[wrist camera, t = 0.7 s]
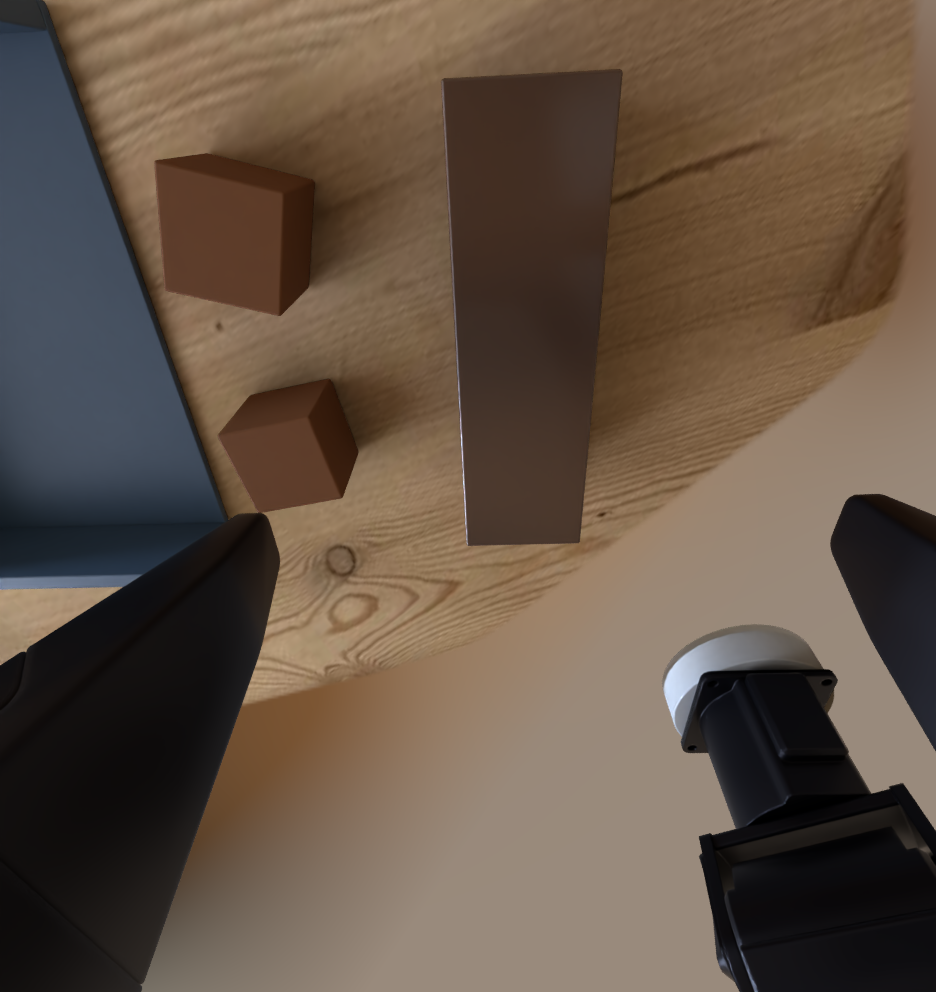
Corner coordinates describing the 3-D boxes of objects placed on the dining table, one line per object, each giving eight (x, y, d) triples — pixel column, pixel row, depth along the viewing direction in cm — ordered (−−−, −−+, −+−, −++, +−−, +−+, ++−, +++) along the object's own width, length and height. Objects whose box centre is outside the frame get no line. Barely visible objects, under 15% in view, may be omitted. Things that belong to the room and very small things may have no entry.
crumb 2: (359, 452, 21) (343, 499, 18) (283, 466, 21) (257, 514, 18) (331, 377, 19) (308, 416, 16) (249, 394, 19) (215, 436, 17)
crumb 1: (309, 288, 17) (280, 317, 15) (209, 265, 17) (163, 291, 14) (315, 180, 16) (284, 192, 13) (205, 152, 15) (152, 159, 13)
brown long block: (563, 476, 21) (580, 543, 18) (468, 479, 21) (466, 546, 18) (589, 79, 14) (623, 68, 11) (449, 86, 14) (440, 78, 11)
